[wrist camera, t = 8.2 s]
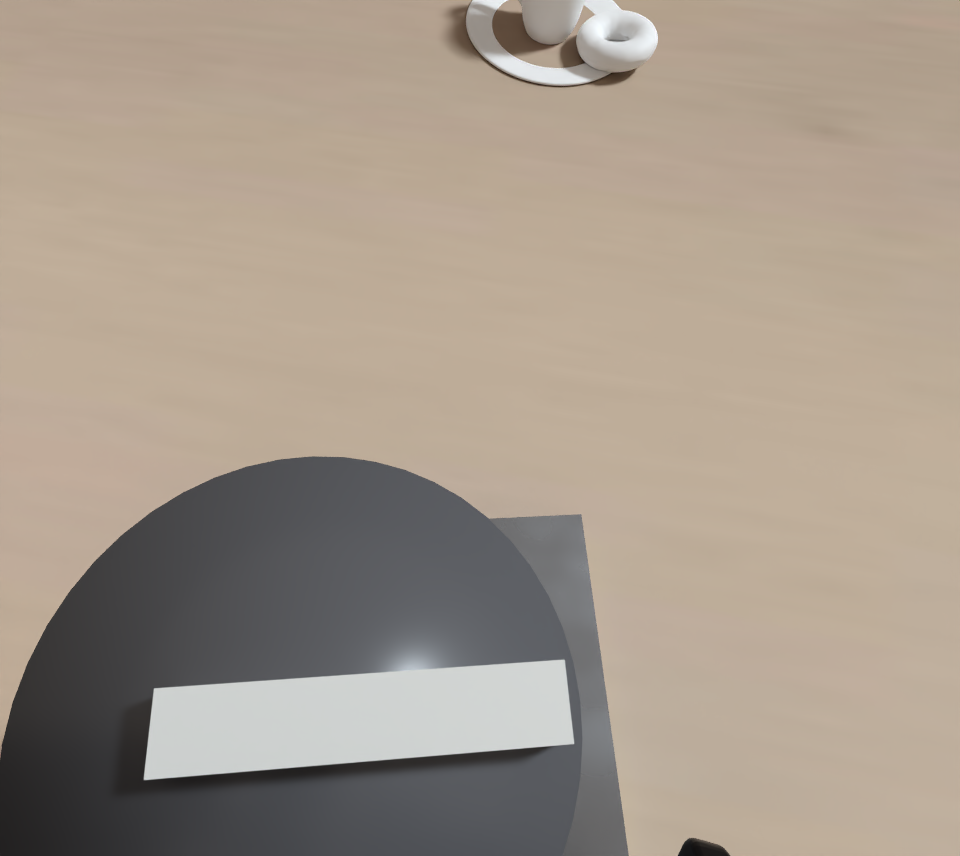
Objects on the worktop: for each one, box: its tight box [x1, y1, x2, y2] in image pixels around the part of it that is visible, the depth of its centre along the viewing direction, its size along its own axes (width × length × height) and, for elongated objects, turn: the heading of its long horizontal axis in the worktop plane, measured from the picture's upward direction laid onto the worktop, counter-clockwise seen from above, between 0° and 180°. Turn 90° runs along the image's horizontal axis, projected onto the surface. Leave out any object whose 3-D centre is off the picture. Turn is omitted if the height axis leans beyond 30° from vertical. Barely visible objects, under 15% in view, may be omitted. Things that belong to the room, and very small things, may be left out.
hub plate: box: [489, 514, 629, 856], centre depth 17 cm, size 12×10×4 cm
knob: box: [0, 457, 583, 856], centre depth 11 cm, size 6×6×12 cm
